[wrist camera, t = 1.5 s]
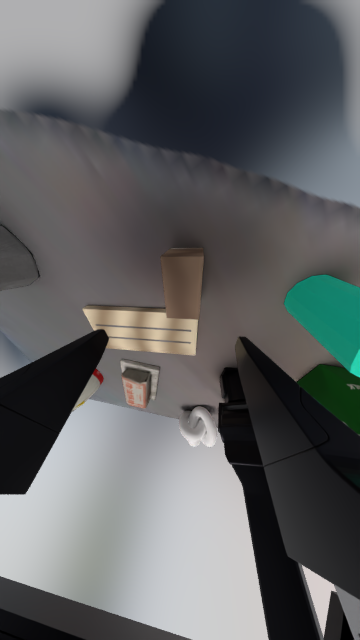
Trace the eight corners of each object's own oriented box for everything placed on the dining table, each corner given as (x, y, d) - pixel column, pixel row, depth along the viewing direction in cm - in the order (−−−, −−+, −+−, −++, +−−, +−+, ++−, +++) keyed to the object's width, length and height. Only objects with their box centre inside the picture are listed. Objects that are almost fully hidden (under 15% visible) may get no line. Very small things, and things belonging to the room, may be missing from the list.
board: (198, 310, 21) (198, 314, 20) (195, 350, 27) (195, 355, 26) (87, 305, 23) (82, 308, 22) (106, 343, 29) (103, 347, 28)
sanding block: (202, 247, 16) (203, 256, 12) (199, 298, 20) (198, 319, 16) (170, 248, 16) (160, 256, 12) (173, 298, 21) (166, 318, 16)
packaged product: (152, 412, 40) (120, 405, 40) (156, 395, 44) (127, 389, 43) (155, 383, 29) (111, 374, 29) (160, 365, 33) (122, 356, 33)
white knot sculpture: (200, 399, 40) (200, 437, 33) (224, 412, 44) (228, 449, 37) (176, 406, 46) (172, 440, 39) (199, 418, 50) (199, 450, 43)
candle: (324, 263, 15) (529, 329, 6) (347, 293, 17) (539, 382, 7) (274, 299, 19) (355, 378, 9) (298, 321, 20) (387, 408, 11)
